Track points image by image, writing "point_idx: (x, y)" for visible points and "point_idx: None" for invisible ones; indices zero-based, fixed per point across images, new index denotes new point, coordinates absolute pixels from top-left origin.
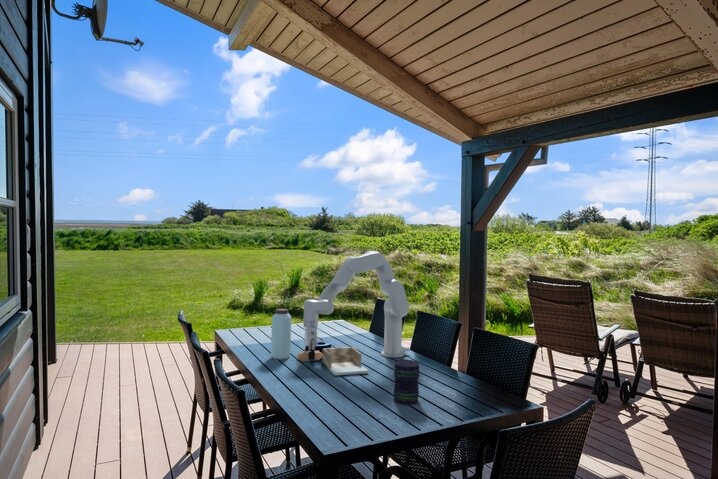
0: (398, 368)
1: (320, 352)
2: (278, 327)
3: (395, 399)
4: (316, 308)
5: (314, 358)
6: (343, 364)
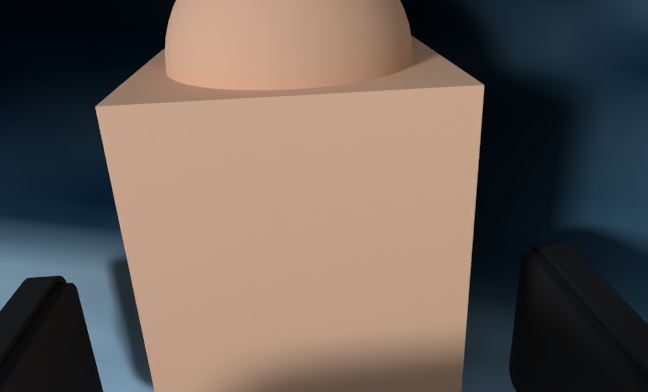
0: None
1: (313, 35)
2: None
3: None
4: None
5: (570, 255)
6: None
